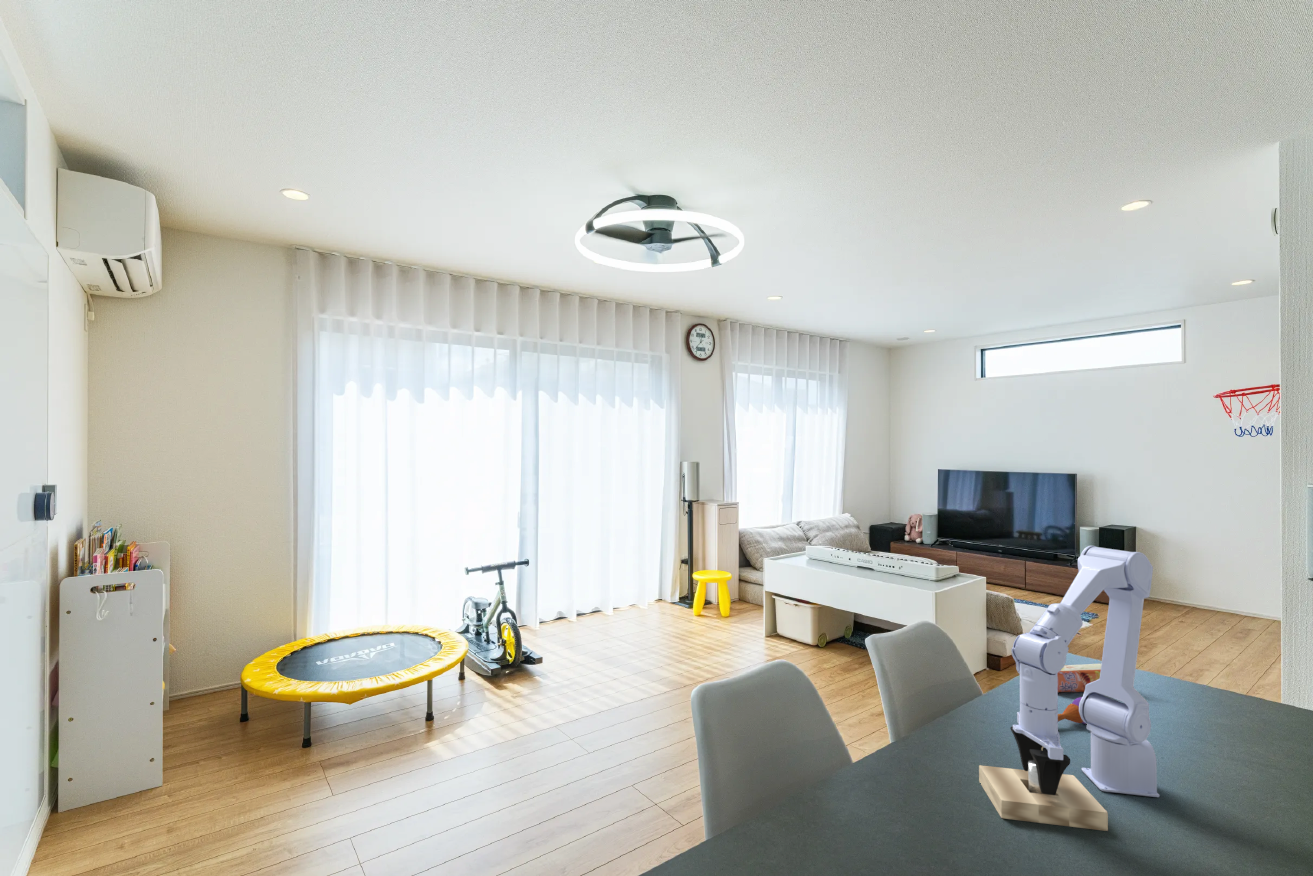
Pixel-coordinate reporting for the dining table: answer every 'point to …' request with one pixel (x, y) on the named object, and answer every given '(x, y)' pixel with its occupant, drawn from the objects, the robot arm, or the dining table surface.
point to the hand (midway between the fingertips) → (1038, 781)
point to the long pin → (1033, 778)
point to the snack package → (1077, 677)
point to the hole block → (1042, 800)
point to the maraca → (1072, 712)
